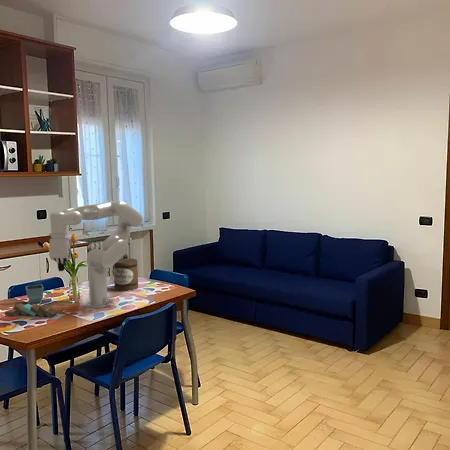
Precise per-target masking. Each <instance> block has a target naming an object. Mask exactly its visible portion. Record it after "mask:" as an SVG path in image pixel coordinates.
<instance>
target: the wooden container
mask: <svg viewBox="0 0 450 450" xmlns="http://www.w3.org/2000/svg"><path fill="white" fill-rule="evenodd" d="M113 273H114V274H113V276H114V278H113V279H114V281H113V282H114V290H115V291H119V292H129V291H128V290H131V291H135V290H137V289H139V272H138V259H136V258H130V257H129V255H128V254H126V253H125V254H124V255H123V256H122V258H120V259H119V260H118V261H117V262H116V263H115V264H114V265H113ZM134 289H135V290H134Z"/></svg>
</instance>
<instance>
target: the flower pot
mask: <svg viewBox="0 0 450 450" xmlns="http://www.w3.org/2000/svg"><path fill="white" fill-rule="evenodd" d="M25 291H26V296H27V299H28V302H29V304H38V303H39V304H40V303H41V302H42V300H43V297H44V287H43V284H35V285H27V286H25Z"/></svg>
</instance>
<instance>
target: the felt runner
mask: <svg viewBox="0 0 450 450" xmlns="http://www.w3.org/2000/svg"><path fill="white" fill-rule="evenodd" d="M65 315H66V314H65V313H57V314H56V315H55V316H54V317H52V318H50V317H49V316H45V317H41V316H40V315H37V316H35V317H34V316H32V315H28V316H25V315H23V314H22V315H20V316H15V318H24V319H25V318H26V319H39V320H40V319H42V320H58V319H60V318H62V317H63V316H65Z"/></svg>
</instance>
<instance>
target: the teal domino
mask: <svg viewBox="0 0 450 450" xmlns="http://www.w3.org/2000/svg"><path fill="white" fill-rule="evenodd" d="M23 305H24V306H23V307H22V309H21V310H23V311H25V312H27V313H28V314H30V315H32V316H34V317H35V316H37V315H38V314H36V313H34V312H32V311H30V309H31V307H32V306H33V305H32V304H31V303H30V302H28V303H27V304H23Z"/></svg>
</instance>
